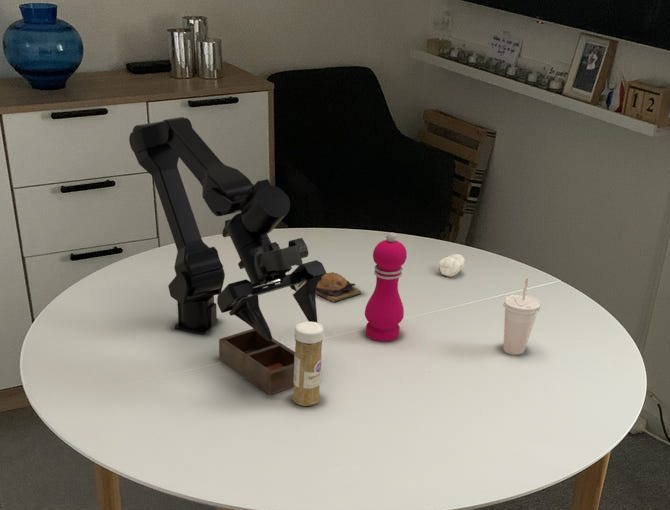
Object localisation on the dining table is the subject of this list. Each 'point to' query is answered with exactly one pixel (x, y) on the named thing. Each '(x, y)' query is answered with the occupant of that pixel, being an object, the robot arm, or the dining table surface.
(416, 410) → the dining table surface
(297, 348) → the sprinkles bottle
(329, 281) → the burger on wooden board
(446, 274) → the dumpling
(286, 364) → the wooden divided tray
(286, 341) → the dining table surface
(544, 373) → the dining table surface
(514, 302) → the smoothie
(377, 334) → the pepper mill
